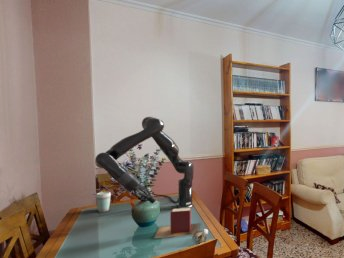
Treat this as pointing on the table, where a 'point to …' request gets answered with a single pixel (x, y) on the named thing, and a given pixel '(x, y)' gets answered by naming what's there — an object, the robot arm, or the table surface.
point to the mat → (166, 233)
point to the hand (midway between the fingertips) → (154, 202)
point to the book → (180, 220)
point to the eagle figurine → (200, 235)
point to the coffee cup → (103, 201)
